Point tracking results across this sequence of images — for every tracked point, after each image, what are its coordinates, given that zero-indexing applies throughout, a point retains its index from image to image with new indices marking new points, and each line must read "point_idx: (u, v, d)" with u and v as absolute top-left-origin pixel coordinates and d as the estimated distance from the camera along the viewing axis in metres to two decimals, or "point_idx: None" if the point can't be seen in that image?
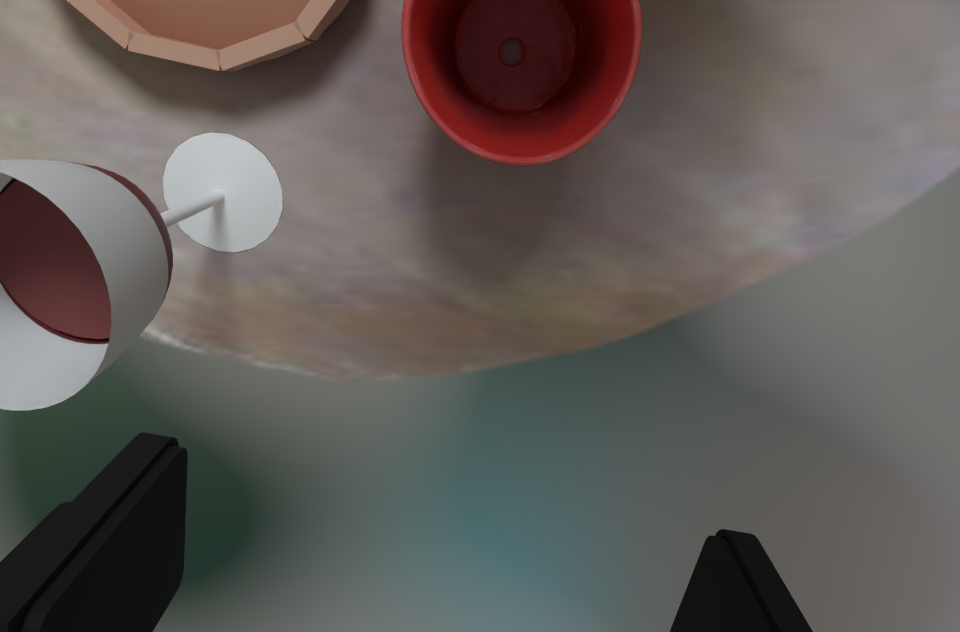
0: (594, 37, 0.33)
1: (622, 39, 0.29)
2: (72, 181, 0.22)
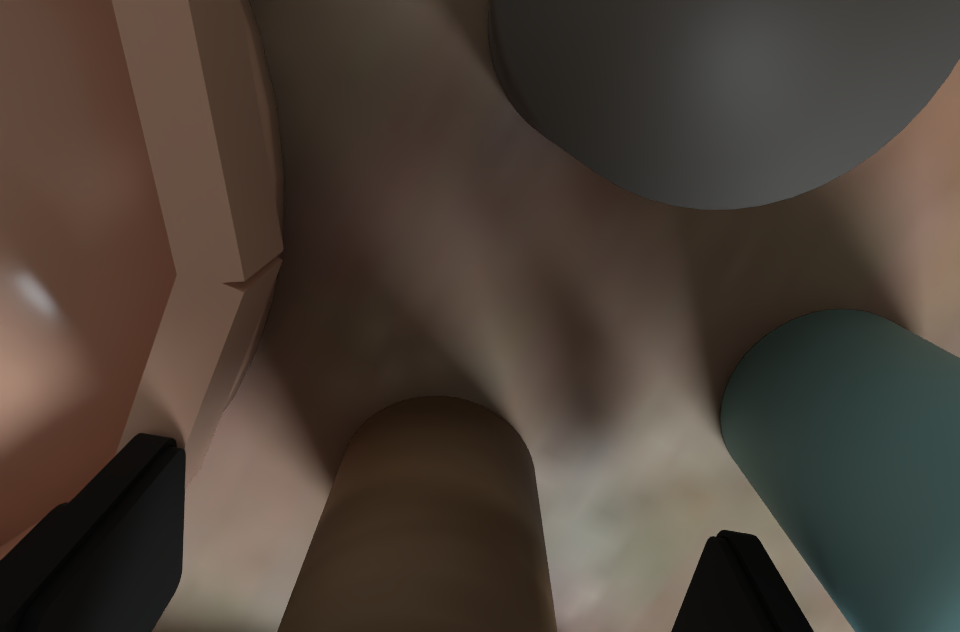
0: None
1: None
2: None
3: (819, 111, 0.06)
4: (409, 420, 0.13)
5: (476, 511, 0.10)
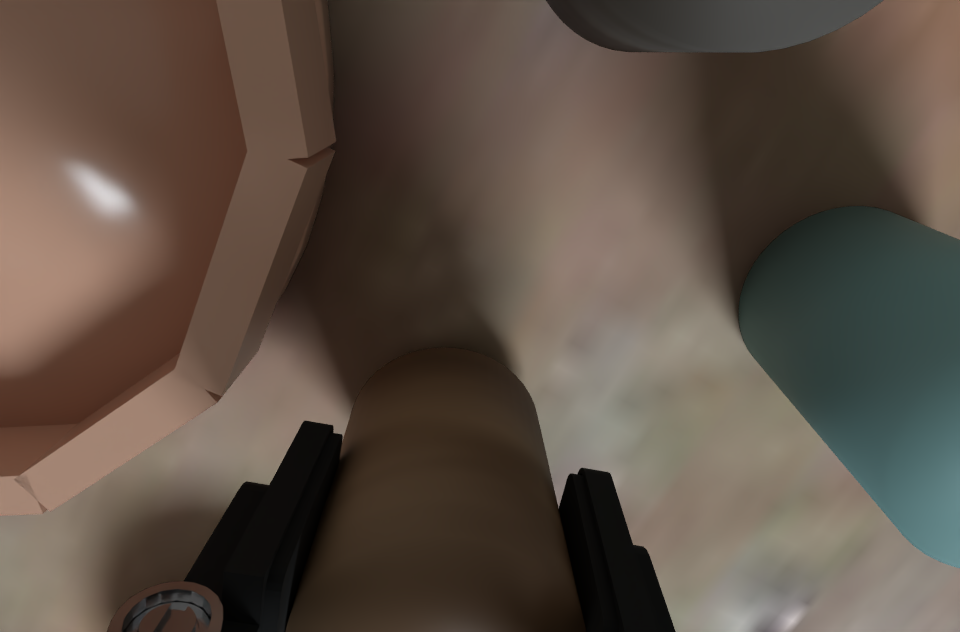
0: None
1: None
2: None
3: None
4: (419, 369, 0.13)
5: (490, 448, 0.11)
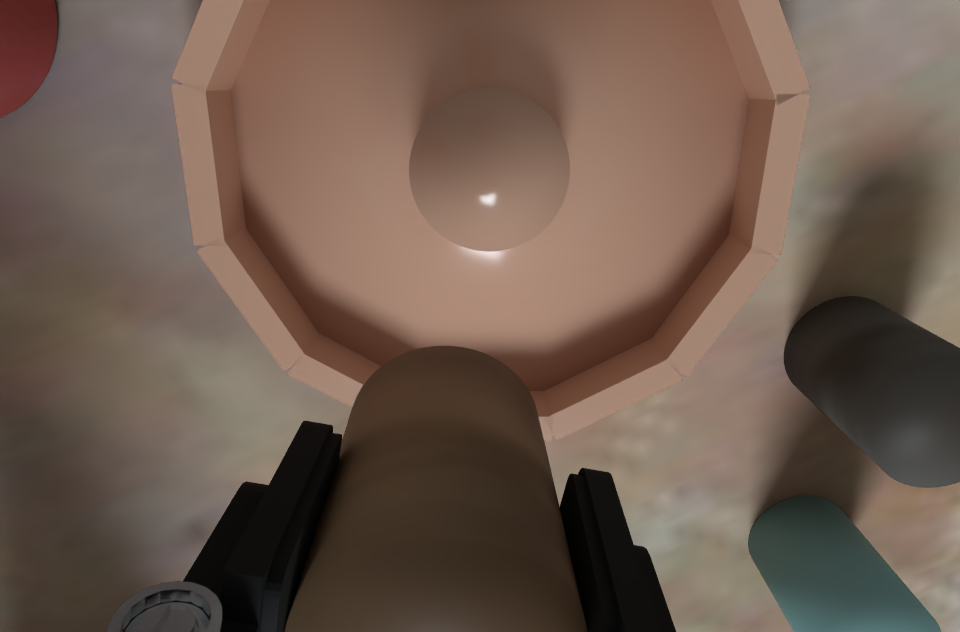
0: None
1: None
2: None
3: (931, 469, 0.20)
4: (419, 368, 0.13)
5: (491, 446, 0.11)
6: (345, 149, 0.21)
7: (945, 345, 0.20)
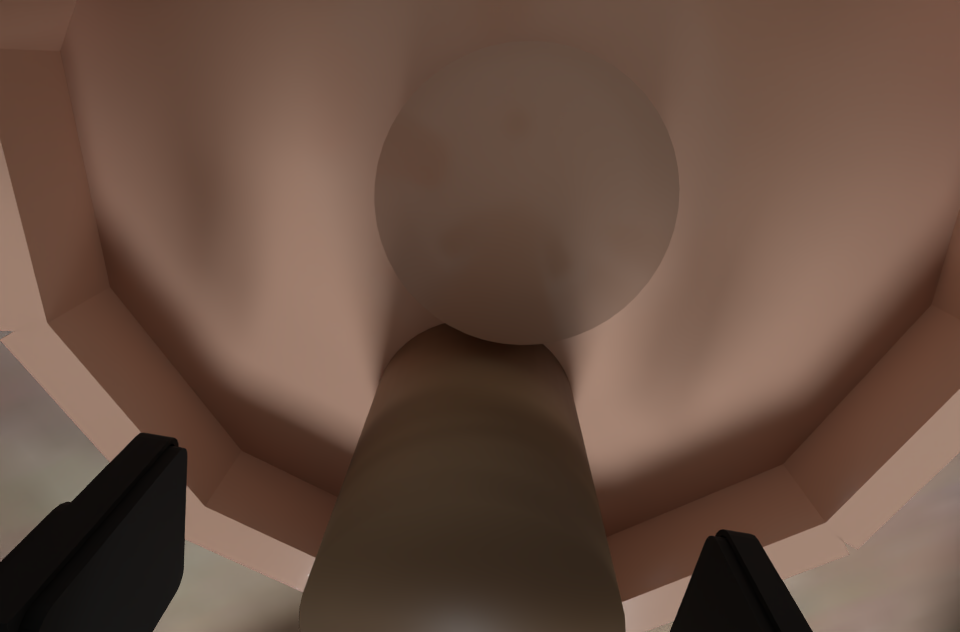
0: None
1: None
2: None
3: None
4: (450, 339, 0.12)
5: (525, 419, 0.10)
6: (269, 156, 0.12)
7: None
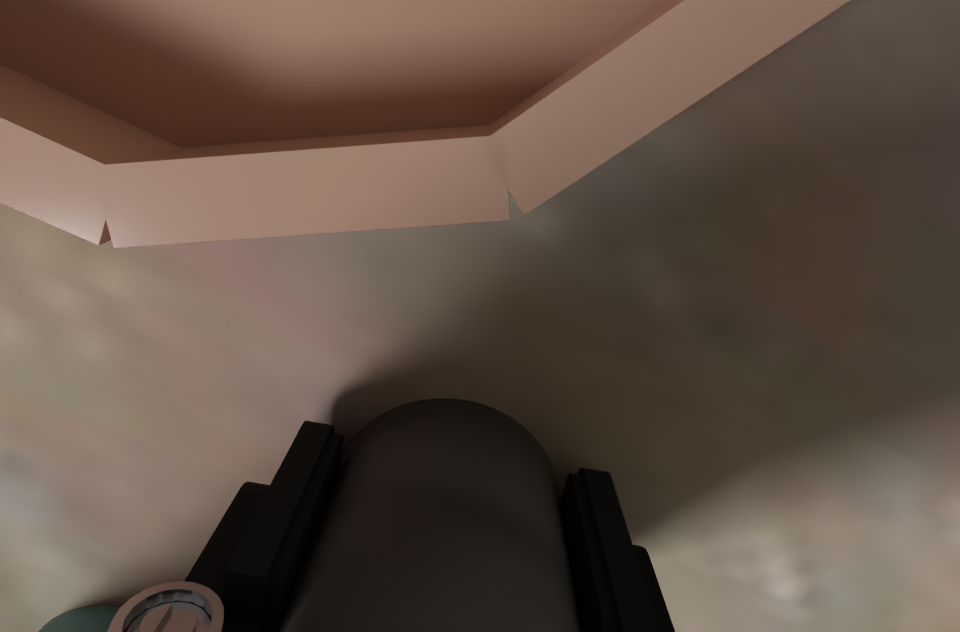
0: None
1: None
2: None
3: None
4: None
5: None
6: None
7: None
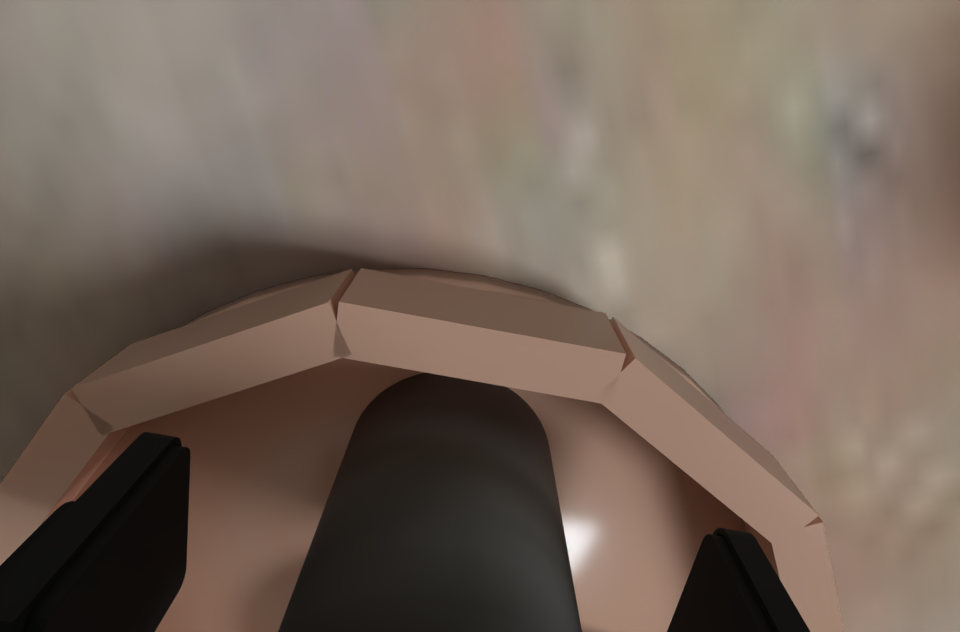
0: None
1: None
2: None
3: None
4: None
5: None
6: None
7: (568, 592, 0.09)
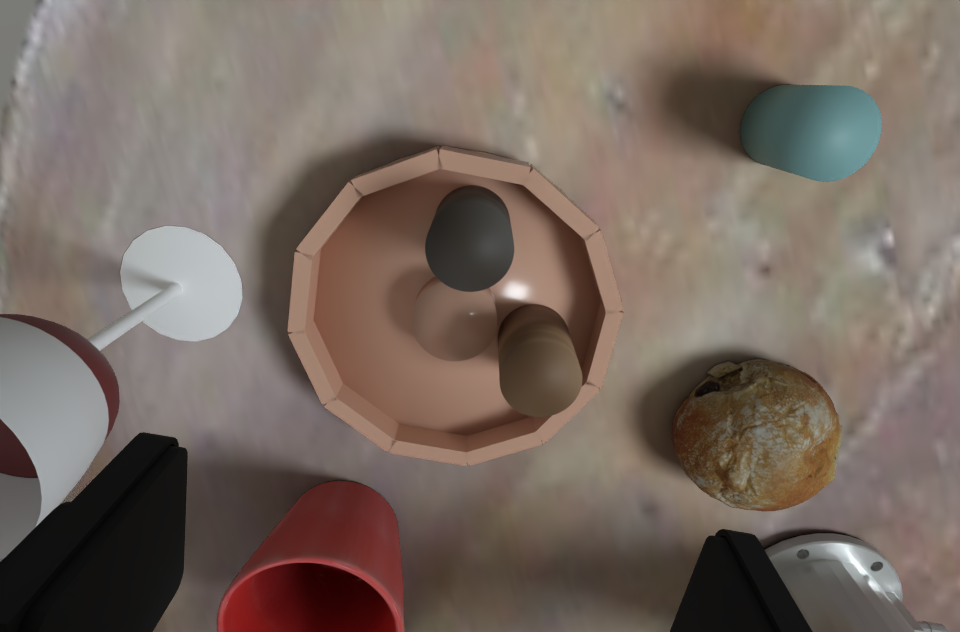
0: (345, 608, 0.44)
1: None
2: (67, 492, 0.23)
3: (444, 266, 0.32)
4: None
5: (505, 342, 0.35)
6: (435, 379, 0.40)
7: (508, 224, 0.32)
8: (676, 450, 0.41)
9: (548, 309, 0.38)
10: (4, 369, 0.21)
